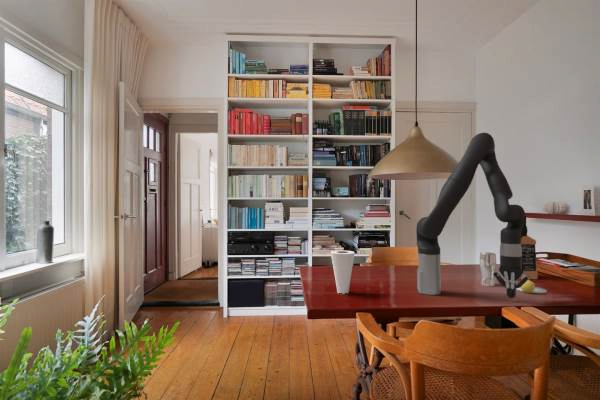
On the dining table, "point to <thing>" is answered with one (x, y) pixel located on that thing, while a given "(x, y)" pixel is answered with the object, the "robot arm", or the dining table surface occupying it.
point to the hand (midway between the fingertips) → (511, 297)
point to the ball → (528, 286)
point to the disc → (537, 290)
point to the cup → (342, 269)
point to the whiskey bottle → (528, 254)
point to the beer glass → (487, 268)
